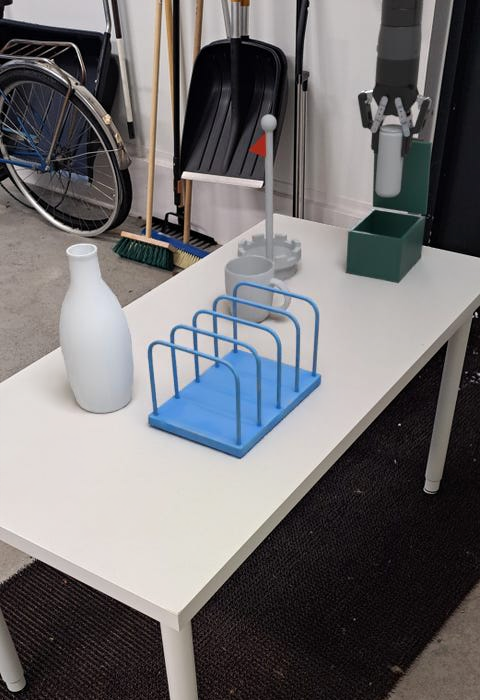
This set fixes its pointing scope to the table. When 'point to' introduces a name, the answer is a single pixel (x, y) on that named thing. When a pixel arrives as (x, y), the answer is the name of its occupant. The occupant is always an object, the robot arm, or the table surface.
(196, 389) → the file sorter
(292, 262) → the flag stand
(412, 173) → the lid
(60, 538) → the table surface
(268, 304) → the mug
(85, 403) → the bottle
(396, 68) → the robot arm
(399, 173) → the beverage can
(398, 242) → the box
